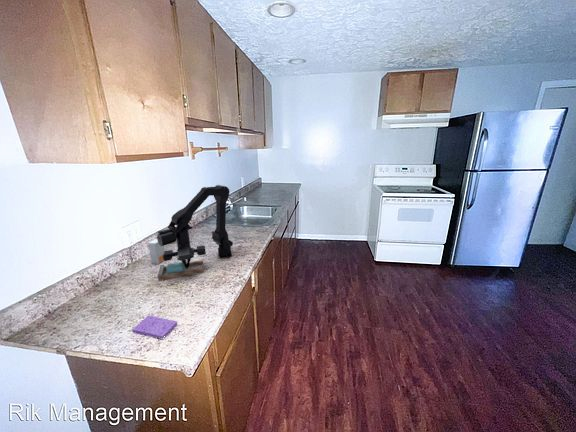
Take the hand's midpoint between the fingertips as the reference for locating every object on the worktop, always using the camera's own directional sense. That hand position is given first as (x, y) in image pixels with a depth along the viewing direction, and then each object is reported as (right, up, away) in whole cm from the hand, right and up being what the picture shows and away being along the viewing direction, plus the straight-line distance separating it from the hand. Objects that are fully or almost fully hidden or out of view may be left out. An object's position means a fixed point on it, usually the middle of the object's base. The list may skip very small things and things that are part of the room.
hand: (187, 268), depth 115 cm
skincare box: (-19, +1, +10) cm, 22 cm away
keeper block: (-5, -2, -1) cm, 5 cm away
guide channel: (-2, -1, 0) cm, 3 cm away
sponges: (+4, -13, -35) cm, 38 cm away
